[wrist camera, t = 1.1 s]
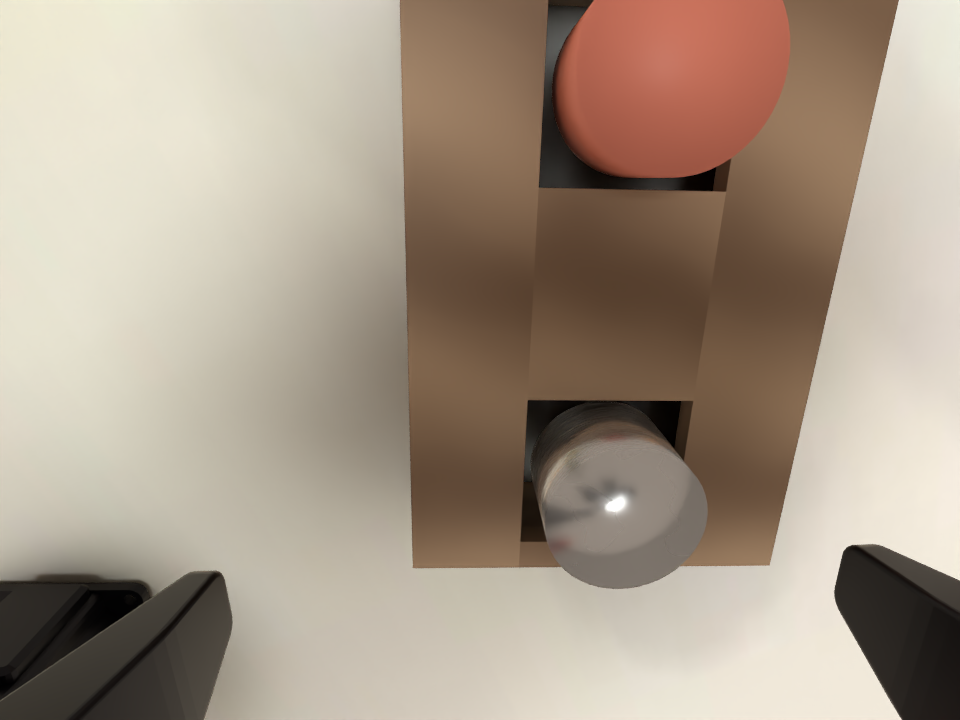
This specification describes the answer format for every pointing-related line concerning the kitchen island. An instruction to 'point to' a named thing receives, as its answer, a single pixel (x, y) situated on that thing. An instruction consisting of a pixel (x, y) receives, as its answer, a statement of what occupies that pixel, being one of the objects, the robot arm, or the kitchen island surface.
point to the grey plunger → (615, 496)
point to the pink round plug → (669, 83)
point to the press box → (614, 278)
